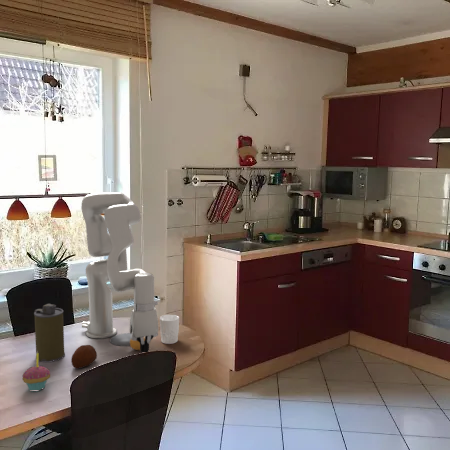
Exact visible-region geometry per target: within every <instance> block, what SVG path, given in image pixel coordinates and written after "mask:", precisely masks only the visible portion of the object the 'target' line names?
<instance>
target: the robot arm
mask: <svg viewBox="0 0 450 450" xmlns="http://www.w3.org/2000/svg"><path fill="white" fill-rule="evenodd" d="M80 207H81V208H80V209H81V214H82V216H83V219H84V222H85V229H86V230H85V232H86V242H87V243H86V245H87V252H88V254H89V256H91V257H92V258H102V257H107V258H105V259H99V260H94V261H91V262H89V263H88V264H87V265H86V267H85V276H86V282H87V286H88V287H87V288H88V309H89V313H88V314H89V316H88V318H89V322H88V321H82V322H81V324H82V325H81V328H83V329H86V331H85V335H86V336H87V337H88V338H91V339H106V338H112V337H113V336H115V335H117V329H116V327H114V324H113V323H114V320H113V315H114V313H113V293H112V292H113V291H115V292H118V293H120V292H121V293H122V292H125V291H130V290H133V309H131V313H130V317H129V318H130V319H129V333H130V334H131V338H130V339H131V340H133V341H138V342H140V350H139V351H140V352H141V353H142V352H148V353H149V350H150V343H151V341H152V340H153V339H154V338H155V337H158V336H159V320H158V317H159V316H158V312H157V308H156V307H155V306H157V305H158V301H157V300H155V276H154V275H153V274H152V273H150V272H147V271H145V270H144V269H142V268H140V267H139V268H133V269H128V256H127V249H128V248H129V247H131V246H132V245H133V244H134V242H135V241H134V237H133V233H132V229H131V226H132V225H138V224H139V223H140V221H141V218H142V217H141V211H140V209H139V207H138V205H137V204H136V203H135V202H134V201H133V200H132V199H130V198H129V197H128V196H127V195H126V194H124V193H122V192H120V191H116V192H115V191H114V192H94V193H90V194H89V193H88V194H87V195H85V196H84V197H83V199H82V202H81V206H80ZM102 214H103V215H102ZM107 283H110V285H111V288H112V289H113V291H112V290H111V288H110V287H109V286H108V284H107ZM144 338H145V341H144Z"/></svg>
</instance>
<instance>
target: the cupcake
mask: <svg viewBox="0 0 450 450" xmlns="http://www.w3.org/2000/svg"><path fill="white" fill-rule="evenodd" d="M35 359H36V360H35V361H36V365H35V366H31V367H29V368H27V369H26V370H25V371H24V372H23V374H22V381H23V383H24V384H26V385H27V389H28V390H29V391H30V390H40V389H42V388H44V389H45V387H46V383H47V381H48V380H49V379H50V378H51V372H50V369H49V368H48V367H46V366H43V365H42V366H41V365H39V362H40V361H39V353H38V351H37V354H36V353H35ZM40 391H41V390H40Z"/></svg>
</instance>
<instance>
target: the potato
mask: <svg viewBox="0 0 450 450" xmlns="http://www.w3.org/2000/svg"><path fill="white" fill-rule="evenodd" d="M97 358H98V353H97V351H96V348H95V347H94V346H93V345H91V344H84V345H80V346H78V347H77V348H76V349H75V350H74V352H73V353H72V356H71V365H72V367H73V368H74V369H82V368H85V367H86V368H87V367H88V366H90V365H92V364H93V363H94V362H95V361H96V360H97Z"/></svg>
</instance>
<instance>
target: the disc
mask: <svg viewBox="0 0 450 450" xmlns="http://www.w3.org/2000/svg"><path fill="white" fill-rule="evenodd" d="M130 338H131V334H130V332H128V333H127V332H126V333H119V334H115V335H113V336H111V337H110V339H109V343H110V344H112V345H114V346H118V347H131V346H130V340H131V339H130Z"/></svg>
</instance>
